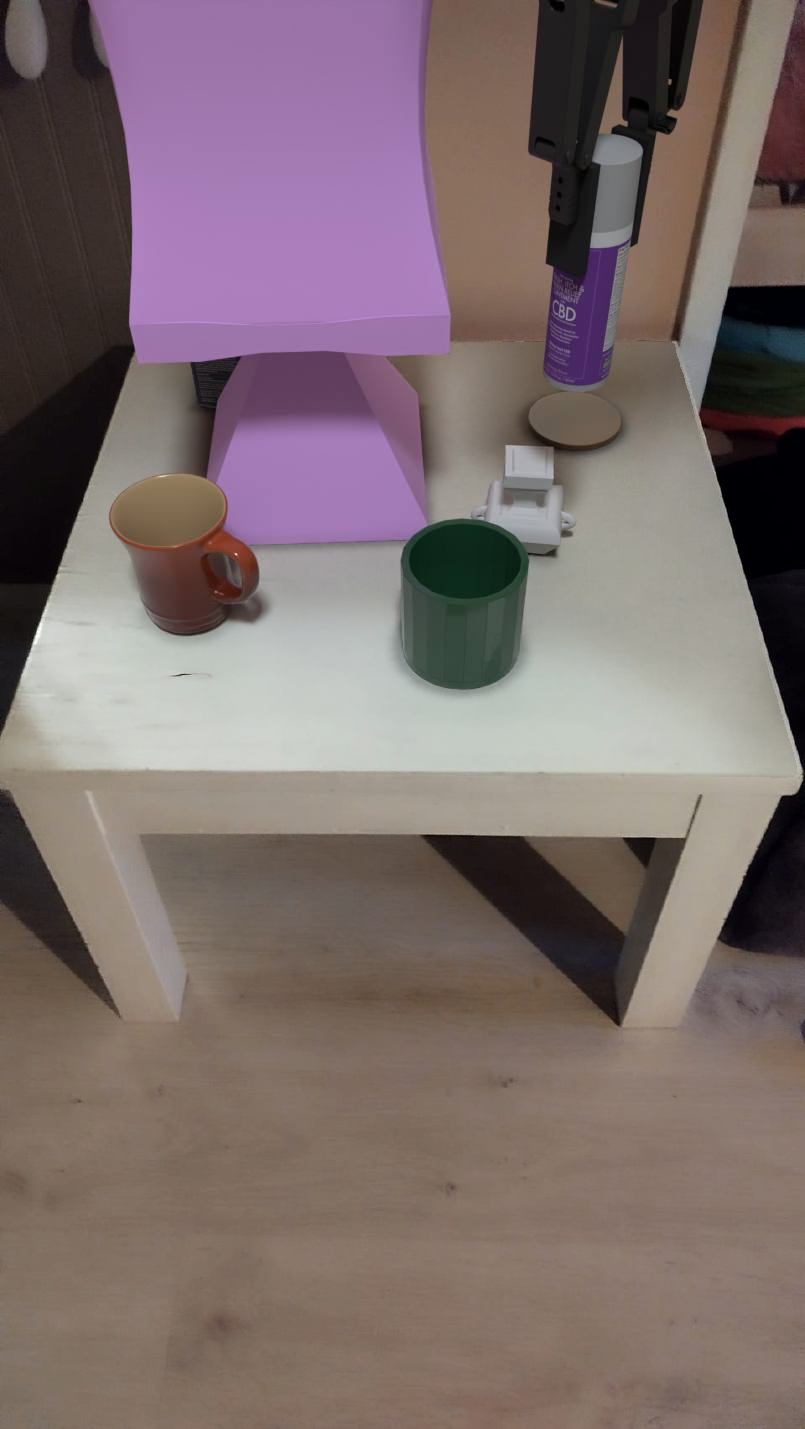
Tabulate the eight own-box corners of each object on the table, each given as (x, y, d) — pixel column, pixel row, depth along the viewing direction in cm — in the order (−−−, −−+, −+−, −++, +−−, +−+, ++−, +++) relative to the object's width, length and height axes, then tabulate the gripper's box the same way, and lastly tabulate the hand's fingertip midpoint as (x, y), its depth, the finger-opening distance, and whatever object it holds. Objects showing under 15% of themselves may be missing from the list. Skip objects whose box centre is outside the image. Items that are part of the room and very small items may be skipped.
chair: (431, 400, 101) (437, -198, 67) (444, 549, 87) (461, -111, 52) (207, 407, 101) (96, -190, 66) (184, 558, 87) (28, -101, 52)
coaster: (639, 422, 99) (640, 417, 98) (581, 463, 95) (582, 457, 94) (567, 386, 103) (568, 380, 102) (508, 423, 99) (509, 418, 98)
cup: (543, 645, 80) (555, 559, 73) (463, 708, 76) (468, 624, 69) (458, 588, 84) (461, 502, 77) (378, 646, 80) (374, 560, 73)
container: (534, 385, 71) (556, 158, 59) (552, 350, 74) (577, 128, 62) (599, 398, 70) (635, 170, 58) (615, 362, 73) (652, 138, 61)
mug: (115, 620, 82) (83, 521, 74) (185, 558, 87) (162, 459, 79) (231, 678, 78) (210, 580, 70) (298, 610, 83) (286, 511, 75)
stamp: (574, 517, 90) (586, 437, 83) (572, 568, 85) (584, 488, 79) (473, 510, 90) (477, 429, 84) (465, 559, 86) (469, 479, 80)
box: (251, 412, 101) (236, 309, 92) (196, 407, 101) (176, 305, 93) (270, 368, 106) (257, 267, 97) (217, 364, 106) (200, 263, 98)
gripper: (697, -271, 53) (626, 191, 71) (470, -222, 45) (456, 284, 63) (827, -257, 49) (718, 224, 67) (607, -201, 42) (550, 328, 60)
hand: (592, 252), depth 65 cm, fingers closed on container, 5 cm apart
